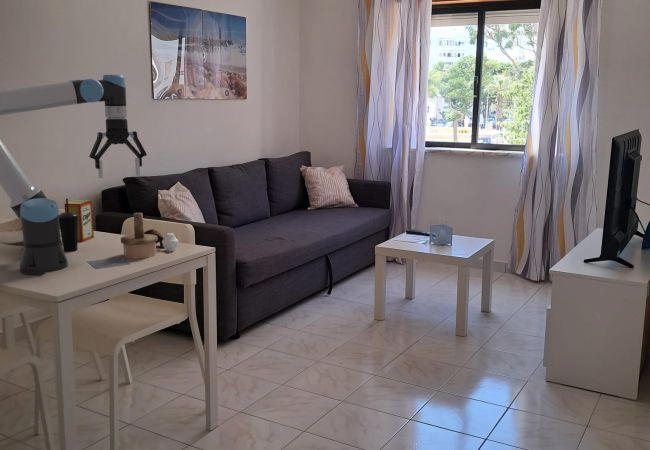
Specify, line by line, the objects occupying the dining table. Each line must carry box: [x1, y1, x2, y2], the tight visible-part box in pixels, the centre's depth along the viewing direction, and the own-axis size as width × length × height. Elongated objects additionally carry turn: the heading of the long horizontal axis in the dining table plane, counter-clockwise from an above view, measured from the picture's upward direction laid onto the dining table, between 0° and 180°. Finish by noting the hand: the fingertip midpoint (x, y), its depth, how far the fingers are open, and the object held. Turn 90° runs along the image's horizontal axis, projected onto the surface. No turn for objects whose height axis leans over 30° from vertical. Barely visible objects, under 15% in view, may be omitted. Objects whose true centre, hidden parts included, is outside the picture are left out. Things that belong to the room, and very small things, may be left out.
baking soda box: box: [63, 199, 95, 243], centre depth 271 cm, size 10×6×16 cm
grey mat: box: [87, 256, 131, 270], centre depth 231 cm, size 12×12×1 cm
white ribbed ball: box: [162, 232, 179, 252], centre depth 253 cm, size 6×6×7 cm
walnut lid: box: [120, 212, 158, 245], centre depth 241 cm, size 13×13×10 cm
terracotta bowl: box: [122, 242, 157, 260], centre depth 242 cm, size 11×11×6 cm
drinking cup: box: [59, 197, 79, 253], centre depth 251 cm, size 8×8×20 cm
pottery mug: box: [144, 228, 165, 247], centre depth 259 cm, size 12×10×8 cm
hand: (119, 176), depth 244 cm, fingers open, 13 cm apart
